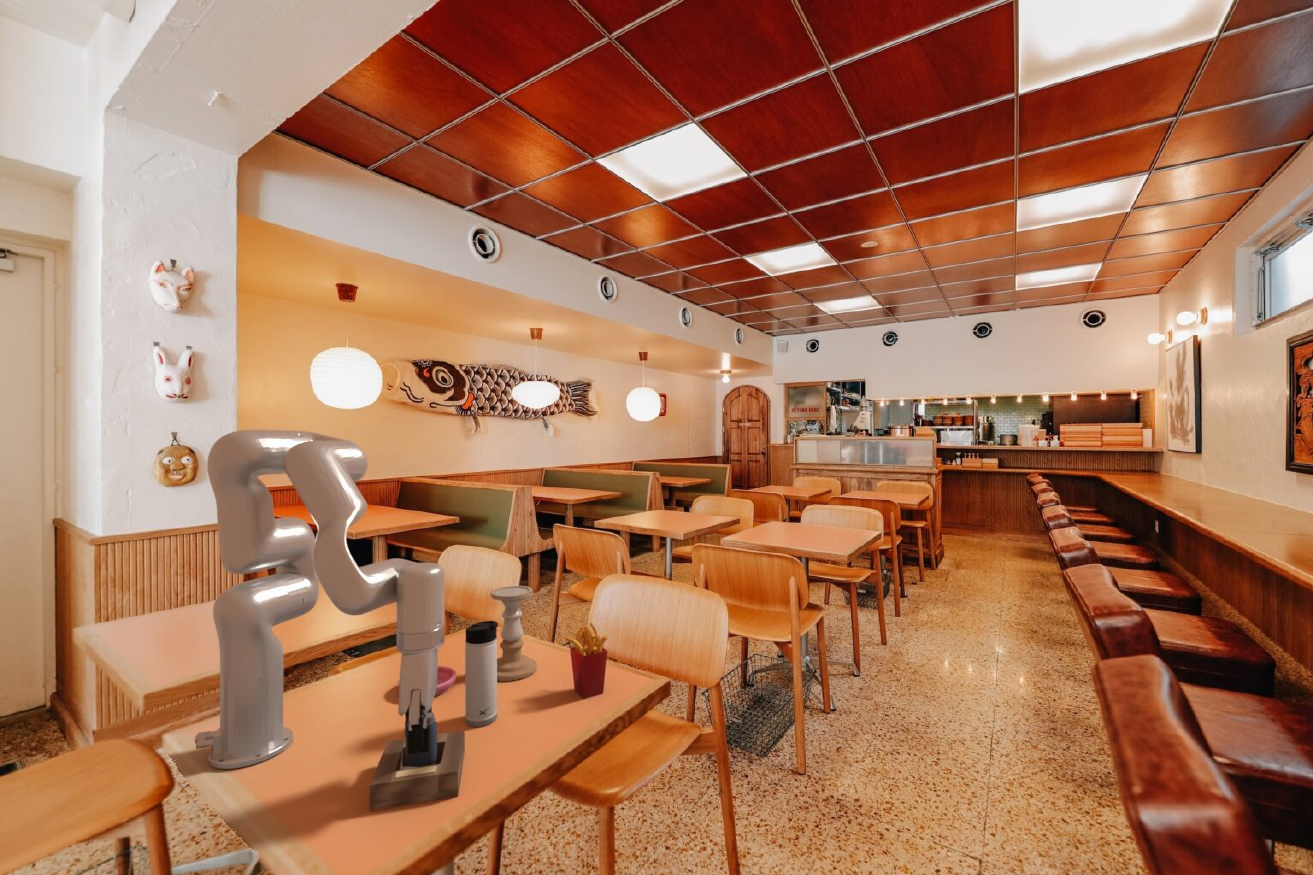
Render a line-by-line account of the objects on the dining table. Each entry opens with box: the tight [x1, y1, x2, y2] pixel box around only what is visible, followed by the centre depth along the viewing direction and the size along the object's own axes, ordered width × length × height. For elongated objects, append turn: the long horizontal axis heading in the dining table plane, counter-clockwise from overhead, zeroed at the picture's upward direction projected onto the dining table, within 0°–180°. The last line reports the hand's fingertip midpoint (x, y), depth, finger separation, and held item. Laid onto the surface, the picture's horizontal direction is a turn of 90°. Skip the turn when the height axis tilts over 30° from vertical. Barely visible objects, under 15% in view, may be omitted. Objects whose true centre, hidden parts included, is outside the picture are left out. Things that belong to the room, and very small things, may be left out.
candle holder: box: [489, 585, 538, 682], centre depth 135 cm, size 12×12×20 cm
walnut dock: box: [368, 729, 466, 812], centre depth 92 cm, size 13×13×4 cm
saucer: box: [397, 665, 457, 697], centre depth 125 cm, size 12×12×3 cm
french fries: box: [565, 622, 609, 700], centre depth 124 cm, size 9×8×15 cm
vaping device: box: [404, 707, 438, 767], centre depth 92 cm, size 3×5×12 cm, turn 88°
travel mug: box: [464, 620, 499, 728], centre depth 111 cm, size 6×7×20 cm
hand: (420, 744), depth 92 cm, fingers closed on vaping device, 3 cm apart
